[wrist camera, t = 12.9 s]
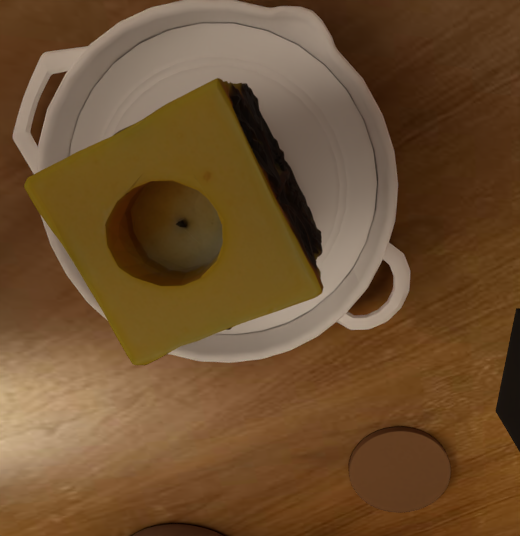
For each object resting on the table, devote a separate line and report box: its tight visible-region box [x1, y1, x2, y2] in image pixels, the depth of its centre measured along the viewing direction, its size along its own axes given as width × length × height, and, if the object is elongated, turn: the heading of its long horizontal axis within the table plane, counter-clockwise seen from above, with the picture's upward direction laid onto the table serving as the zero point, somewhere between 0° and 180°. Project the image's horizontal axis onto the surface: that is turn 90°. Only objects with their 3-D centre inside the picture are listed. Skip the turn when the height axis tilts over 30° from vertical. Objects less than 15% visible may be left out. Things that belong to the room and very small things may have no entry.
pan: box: [13, 0, 410, 363], centre depth 33 cm, size 24×27×4 cm
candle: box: [24, 78, 324, 365], centre depth 26 cm, size 10×10×10 cm
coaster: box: [349, 427, 451, 513], centre depth 40 cm, size 8×8×1 cm
